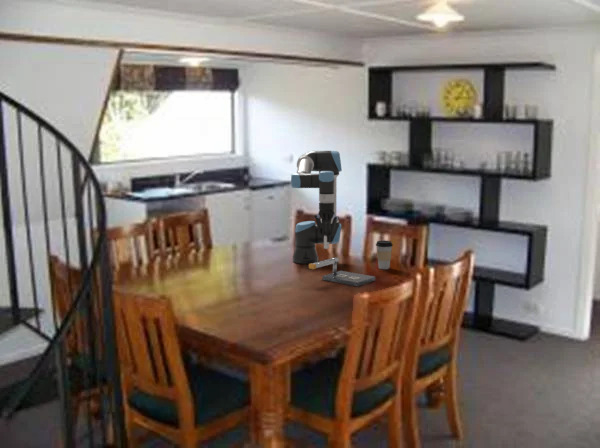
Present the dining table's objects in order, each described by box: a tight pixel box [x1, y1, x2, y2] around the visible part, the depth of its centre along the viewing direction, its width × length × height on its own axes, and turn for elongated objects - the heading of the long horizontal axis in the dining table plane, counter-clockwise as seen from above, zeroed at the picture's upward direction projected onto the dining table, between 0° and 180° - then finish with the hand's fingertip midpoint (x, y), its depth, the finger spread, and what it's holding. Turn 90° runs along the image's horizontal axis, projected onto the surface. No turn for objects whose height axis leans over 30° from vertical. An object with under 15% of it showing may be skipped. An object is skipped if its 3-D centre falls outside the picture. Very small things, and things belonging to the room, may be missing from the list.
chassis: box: [322, 263, 376, 287], centre depth 342 cm, size 22×16×8 cm
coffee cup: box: [375, 240, 394, 270], centre depth 369 cm, size 9×9×15 cm
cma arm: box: [308, 257, 340, 270], centre depth 340 cm, size 22×4×2 cm, turn 139°
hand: (326, 248), depth 335 cm, fingers closed
